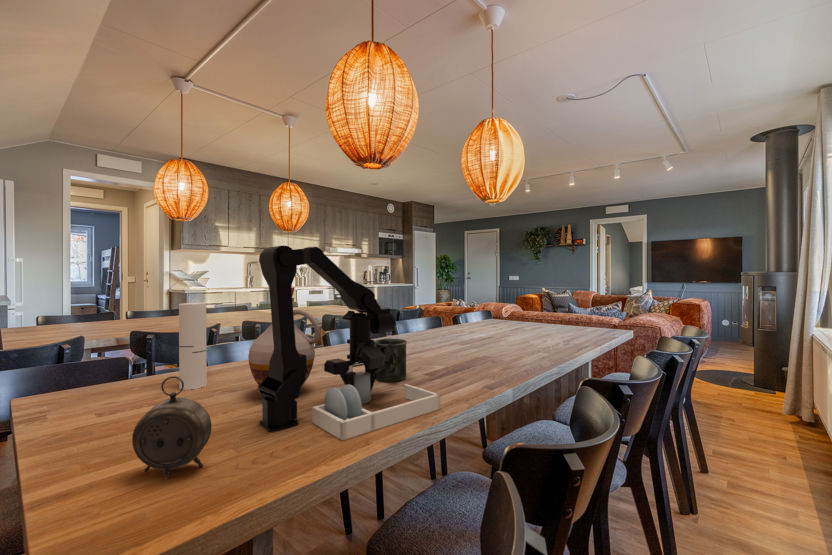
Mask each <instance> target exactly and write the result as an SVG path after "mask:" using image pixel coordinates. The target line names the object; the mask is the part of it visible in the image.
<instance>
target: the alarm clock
mask: <svg viewBox="0 0 832 555" xmlns="http://www.w3.org/2000/svg"><path fill="white" fill-rule="evenodd" d="M170 379H177V380H178V381H179V380H180V381H181V383H182V388H181V390H180V389H179V391H178V392H177V393H176V392H175V391H173V392H171V393H167V391H165V389H164V385H165V383H166V382H167V381H168V380H170ZM160 386H161V388H160V389H161V392H162V393H163V394H164V395H166V396H169V397H170V398H167V399H164V400H163V401H160V402H158V403H157V404H155V405H154V406H152V408H151V409H149V410H148V411H147V412H146V413H145V414H144V415H143V416H142V417H141V418H139V420H138V421H137V423H136V424H135V426H134V429H133V432H132V437H131V438H132V439H131V440H132V442H131V443H132V447H133V451H134V454H135V455H136V456H137V458H138V459H139V460H140V461H141V462H142V463H143V464H144V465H146V467H145V468H144V470H143V471H144V473H146V472H148V471H149V470H150V468H153V469H154V470H155V469H156V470H159V471H162V470H163V471H164V474H163V479H164V478H167V479H169V475H170V471H171V470H175V469H180V468H183V467H185V466H186V465H189V464H190V463H191V462H192V461H193V462H194V463H195V464H196V465H198V468H201V467H202V468H203V467H204V464H203V463H202V461H201V459H200V458H199V457H198V456H199V455H200V453H201V452H202V450H203V449H204V448H205V446H206V445H207V443H208V442H209V440H210V437H211V434H212V421H211V416H210V414H209V412H208V411H207V410H206V408H205V407H203V405H201V404H200V403H199V402H196V401H195V400H193V399H190V398H187V397H186V398H185V397H177V395H179V394H181V392H182V391H184V390H183V387H184V382H183V380H182V379H181V378H179V376H176V375H171V376H168V377H167V378H165V379H164V380H163V381H162V382H161V385H160ZM202 468H201V469H202Z"/></svg>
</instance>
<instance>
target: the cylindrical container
mask: <svg viewBox="0 0 832 555" xmlns="http://www.w3.org/2000/svg"><path fill="white" fill-rule="evenodd" d="M178 345H179V346H178V360H179V361H178V370H179V371H178V374H179V376H178V377H179V378H181V379H182V380H183V382H184V387H183V390H182V391H192V390H191V389H195V390H199V389H198V388H200V389H202V388H201V387H203V388H205V387H206V386H207V378H208V376H207V375H208V374H207V370H208V369H207V365H208V364H207V362H208V361H207V356H208V354H207V302H186V303H185V302H184V303H178ZM178 381H179V383H178V386H179V388H178V389H179V390H180V389H181V388H182V383H181V381H180V380H179V379H178ZM204 386H205V387H204Z"/></svg>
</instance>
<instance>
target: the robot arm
mask: <svg viewBox="0 0 832 555" xmlns="http://www.w3.org/2000/svg"><path fill="white" fill-rule="evenodd" d="M258 261H259V265H260V270H261V272H262V276H263V278H264V280H265V281H266V284H267V285H268V290H269V301H270V313H271V315H270V316H271V324H272V330H273V343H274V351H273V354H272V356H271V359H270V362H269V373H268V375H267V376H266V377H265V379H264V380H263V381H262V382H261V383H260V385H258V386H257V389H258V392H259V395H260V396H263V397H262V399H261V400H262V403H261V404H262V408H261V409H262V412H261V414H262V416H261V417H262V419H261V420H260V421H259V424H260V425H261V426H262V427H263V428H265V429H266V430H267V431H268V432H275V431H278V430H281V429H284V428H290V427H293V426H296V425H299V421H298V420H297V419H298V401H297V400H296V399H298V398H299V395H300V392H301V389H302V387H303V385H304V384H303V382H306V381H305V379H306V373H308V370H307V367H306V362H307V358H306V355H304V354H300V353H298V351H297V349H296V341H295V327H294V324H295V318H294V317H295V315H294V314H293V310H294V306H293V305H294V304H293V303H294V302H293V301H292V298H293V296H292V287H293V282H294V280H295V277H296V275H297V268H298V267H297V266H302V265H307V266H308V267H309V268H310V269H312V270H313V271H314V272H315V273H316V274H317V275H318V276H320V277H321V278H322V279H323V280H324V281H325V282H326V283H328V284H329V285H330V286H331V287H332V288H333V289H334V290H336V291H337V292H338V294H339V297H340V299H341V301H342V302H343V304H345V306H346V307H347V308H348V309H349V310H347V312H346V313H345V314H344V315H343V316H342V320H345V321H349V339H348V338H347V339H346V343H347V344H349V354H347V355H346V359H348V360H345V359H341V358H339V357H338V358H333V359H332V358H331V359H326V361H325V363H324V364H323V365H324V366H323V370H324V372H325V373H328V374H331V375H334V376H337V375H339V376H340V379H341V380H342V382H343V384H344V385H348V384H350V385H352V386H354V376H355V374H356V372H357V371H353V370H354V369H353V368H356V367H360V366H364V372H369V373H370V394H371V393H372V390H373V388H374V384H375V382H376V380H377V379H376V377H377V374H378V373H379V372H380V371H381V370H382V369H384V368H385V366H383V365H391V364H394V357H393V355H392V354H391V353H390V348H388V347H387V346H386V347H381V348H376V347H375V342H374V341H375V340H374V339H372V334H374V335H377V334H383V333H384V334H385V333H391V332H393V331H394V329H395V327H396V320H395V316H394V315H393V314H392V313H391V308H389V307H383V308H381V306H380V304H379V303H378V300H376V299H377V298H375V297H376V294H375V293H374V292H373V290H371V289H369V288H368V287H367V286H365V285H363V284H361V283H360V282H357V281H355V280H353V279H351V278H350V276H349V275H348V274H347V273H346V272H344V271H343V270H342V269H341V268H340V267H339V266H338V265H337V264H336V263H335V262H333V261H332V260H331V259H330V258H329V257H328V256H327V255H326V254H325V253H324V252H323V249H321V248H319V247H318V246H309V247H307V246H306V247H304V248H297V249H293V248H292V247H290V246H289V245H276V246H275V245H274V246H270V247H266V248H265V249H263V250H262V251H261V253H259V258H258ZM355 311H356V312H355ZM302 384H303V385H302ZM301 386H302V387H301Z"/></svg>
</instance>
